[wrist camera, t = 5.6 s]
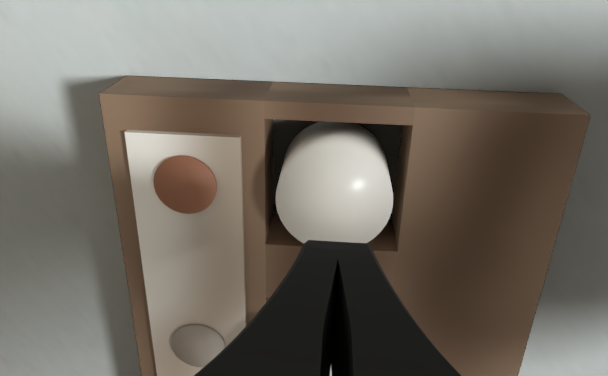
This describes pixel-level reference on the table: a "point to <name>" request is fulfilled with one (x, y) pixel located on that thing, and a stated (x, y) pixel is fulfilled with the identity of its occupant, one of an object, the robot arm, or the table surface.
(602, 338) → the table surface
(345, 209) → the button
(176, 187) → the board
